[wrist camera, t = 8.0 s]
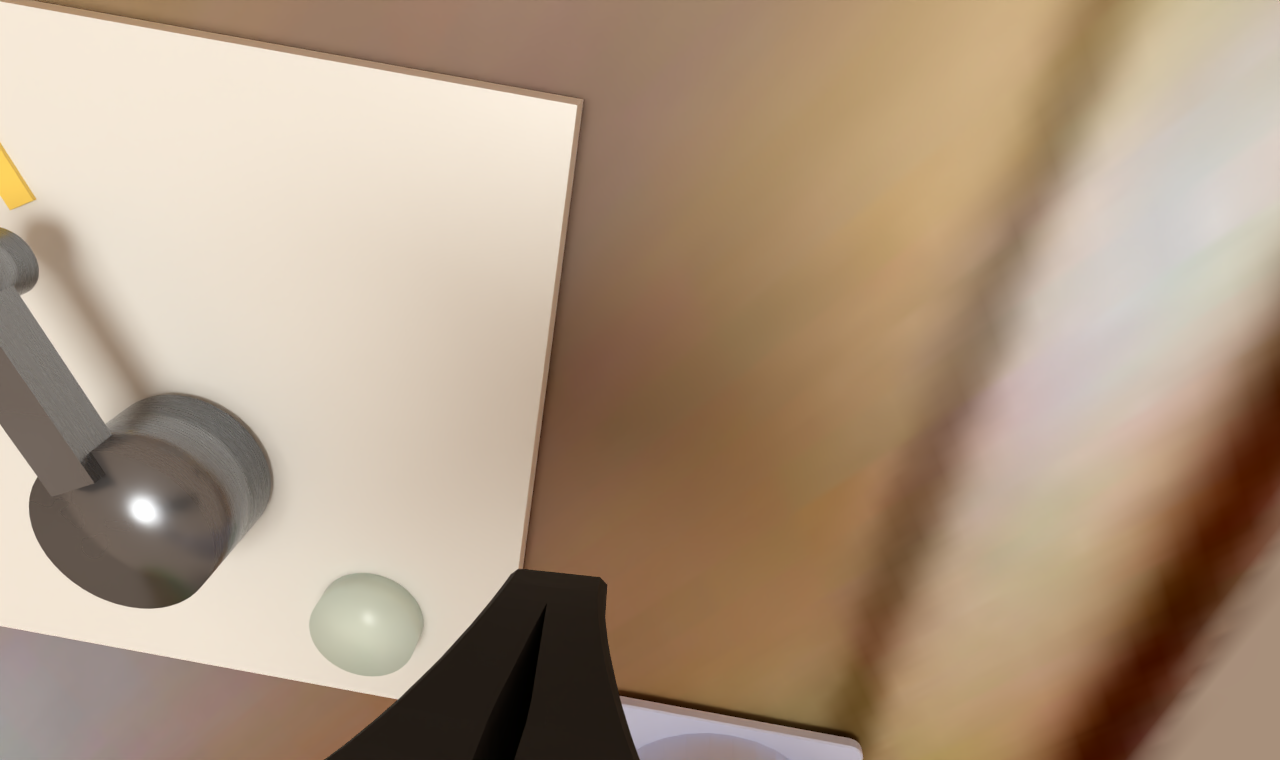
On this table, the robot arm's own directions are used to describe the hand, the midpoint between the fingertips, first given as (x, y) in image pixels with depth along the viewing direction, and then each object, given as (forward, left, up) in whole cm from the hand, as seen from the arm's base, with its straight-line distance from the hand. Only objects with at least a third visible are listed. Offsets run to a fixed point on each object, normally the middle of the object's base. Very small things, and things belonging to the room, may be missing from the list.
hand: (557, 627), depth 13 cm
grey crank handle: (-3, +12, -9) cm, 15 cm away
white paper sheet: (-3, +10, -10) cm, 15 cm away
